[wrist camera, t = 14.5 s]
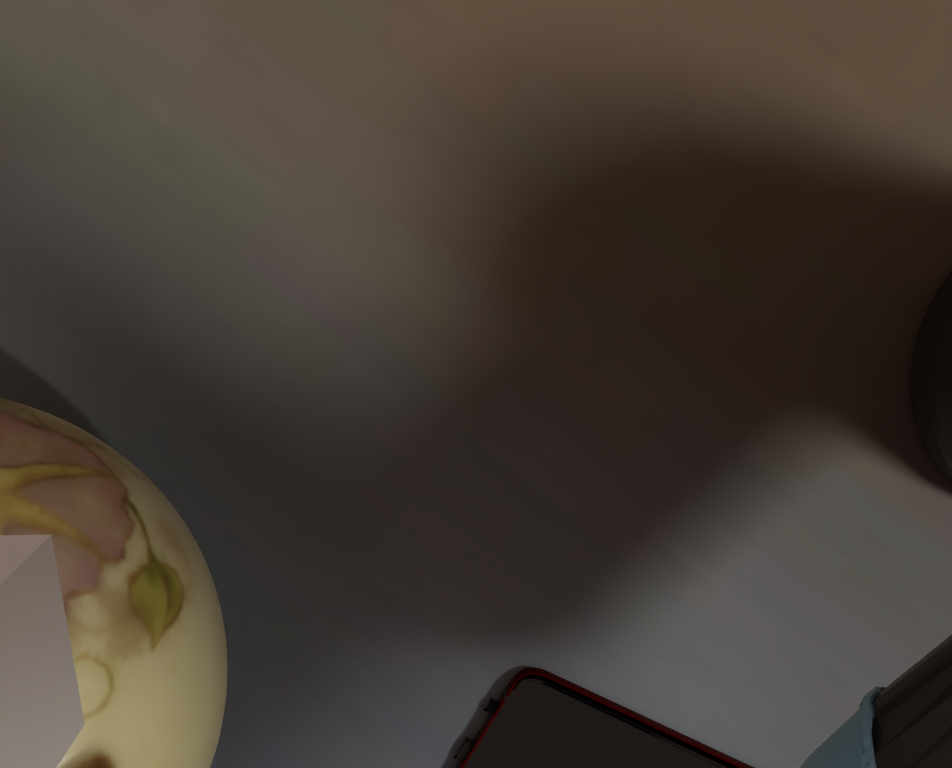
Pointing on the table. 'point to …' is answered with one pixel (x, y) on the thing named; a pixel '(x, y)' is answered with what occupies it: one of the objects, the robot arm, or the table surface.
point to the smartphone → (576, 732)
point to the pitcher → (120, 595)
